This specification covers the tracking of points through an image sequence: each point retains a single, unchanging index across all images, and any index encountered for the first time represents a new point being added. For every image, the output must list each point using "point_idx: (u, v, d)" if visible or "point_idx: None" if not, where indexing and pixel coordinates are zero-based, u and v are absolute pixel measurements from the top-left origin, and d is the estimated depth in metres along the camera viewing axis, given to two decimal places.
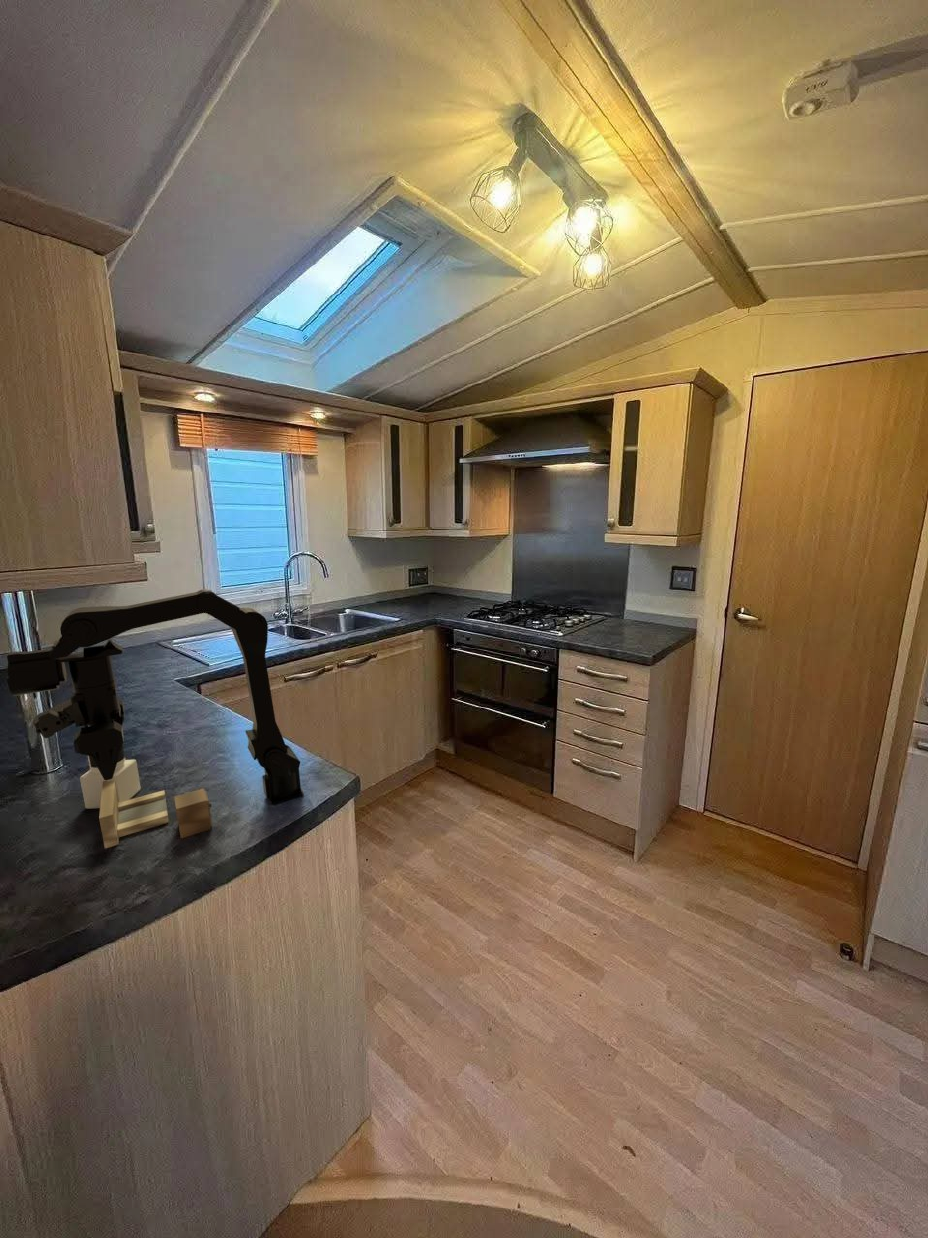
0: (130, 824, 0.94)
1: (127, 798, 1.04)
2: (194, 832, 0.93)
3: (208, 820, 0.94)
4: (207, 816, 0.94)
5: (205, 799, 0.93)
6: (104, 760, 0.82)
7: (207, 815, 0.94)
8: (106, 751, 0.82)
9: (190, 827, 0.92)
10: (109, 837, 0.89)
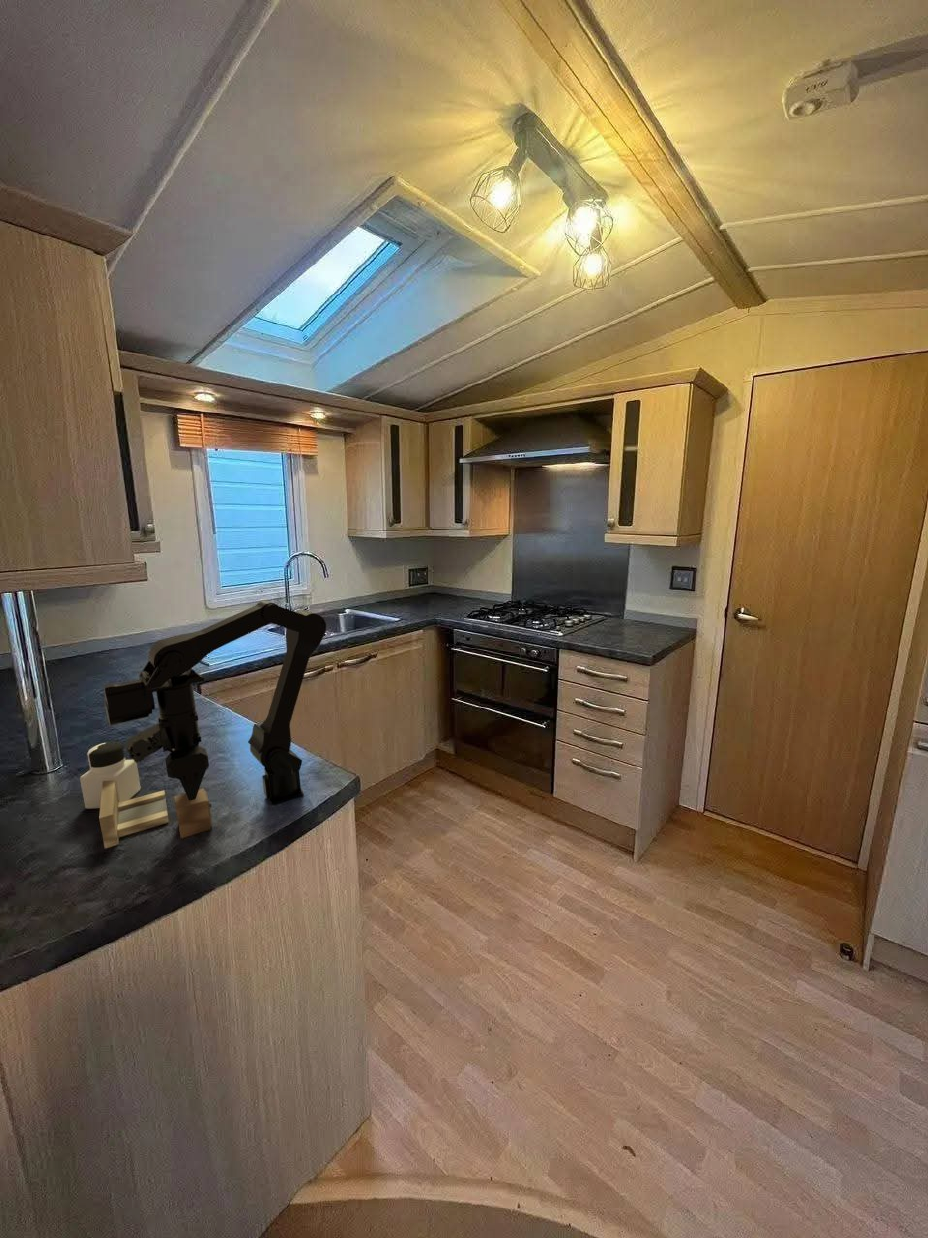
0: (130, 824, 0.94)
1: (127, 798, 1.04)
2: (194, 832, 0.93)
3: (208, 820, 0.94)
4: (207, 816, 0.94)
5: (205, 799, 0.93)
6: (190, 782, 0.88)
7: (207, 815, 0.94)
8: (191, 774, 0.88)
9: (190, 827, 0.92)
10: (109, 837, 0.89)
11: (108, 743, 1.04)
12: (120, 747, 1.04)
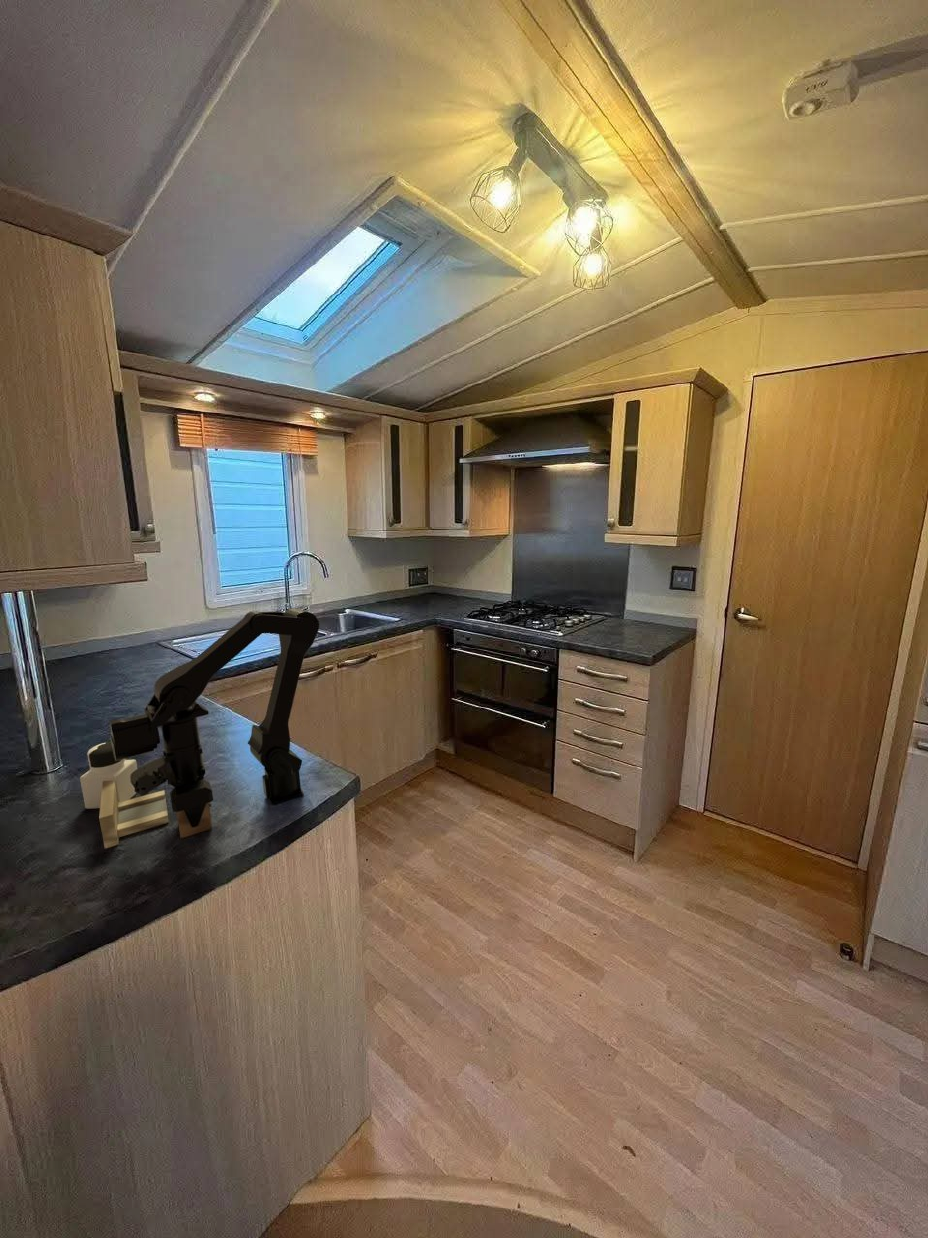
0: (130, 824, 0.94)
1: (127, 798, 1.04)
2: (194, 832, 0.93)
3: (208, 820, 0.94)
4: (207, 816, 0.94)
5: None
6: (192, 810, 0.91)
7: (207, 815, 0.94)
8: None
9: (190, 827, 0.92)
10: (109, 837, 0.89)
11: (108, 743, 1.04)
12: None
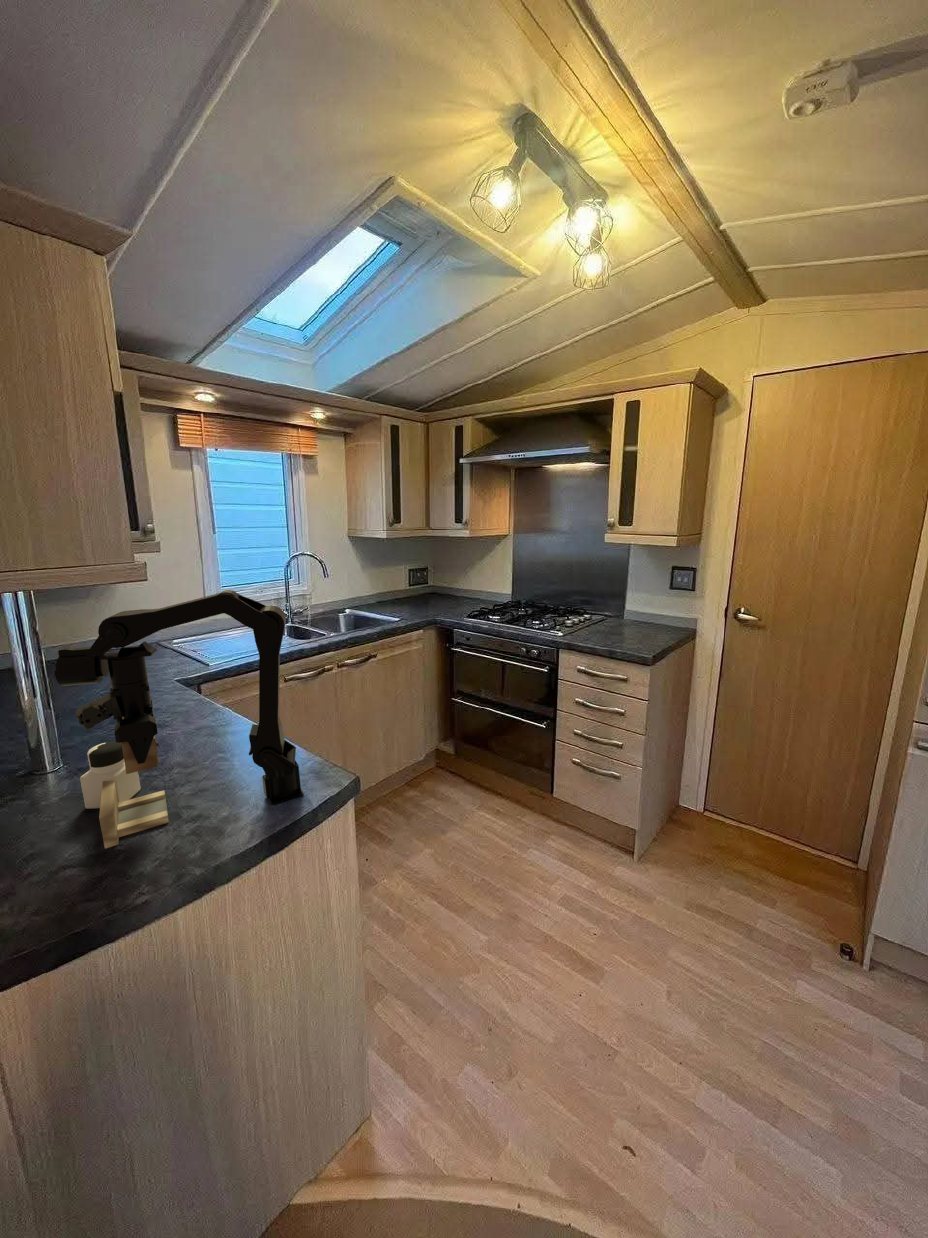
0: (130, 824, 0.94)
1: (127, 798, 1.04)
2: (140, 768, 0.95)
3: (154, 757, 0.96)
4: (153, 753, 0.95)
5: None
6: (138, 746, 0.93)
7: (153, 752, 0.95)
8: (140, 738, 0.93)
9: (136, 763, 0.94)
10: (109, 837, 0.89)
11: (108, 743, 1.04)
12: (120, 747, 1.04)
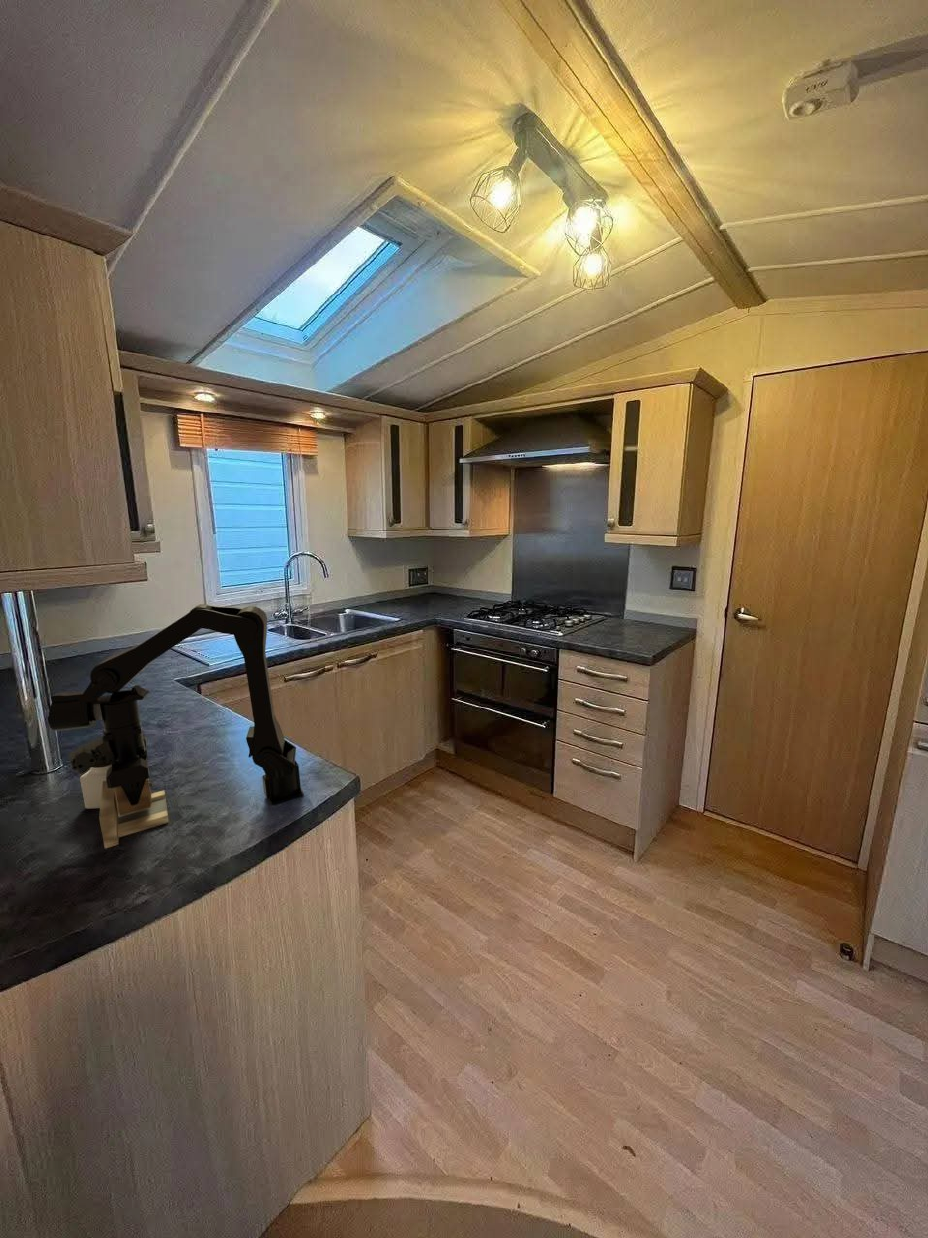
0: (130, 824, 0.94)
1: None
2: (133, 810, 0.96)
3: (148, 798, 0.97)
4: (146, 794, 0.97)
5: None
6: (131, 788, 0.94)
7: (146, 793, 0.97)
8: None
9: (129, 805, 0.95)
10: (109, 837, 0.89)
11: None
12: None
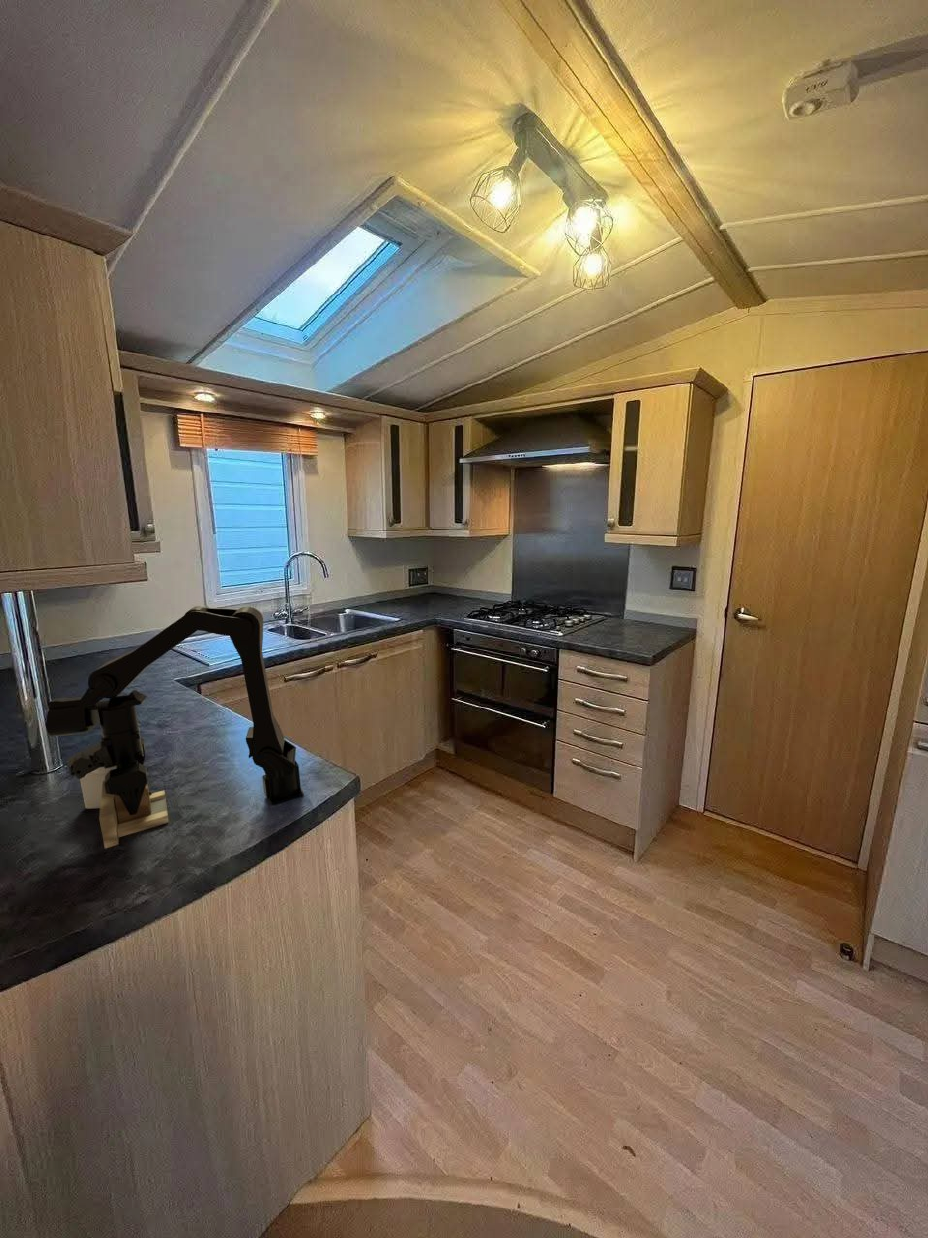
0: (130, 824, 0.94)
1: None
2: (133, 819, 0.96)
3: (147, 807, 0.97)
4: (146, 803, 0.97)
5: None
6: (130, 798, 0.92)
7: (146, 802, 0.97)
8: (132, 790, 0.92)
9: (129, 814, 0.95)
10: (109, 837, 0.89)
11: None
12: None
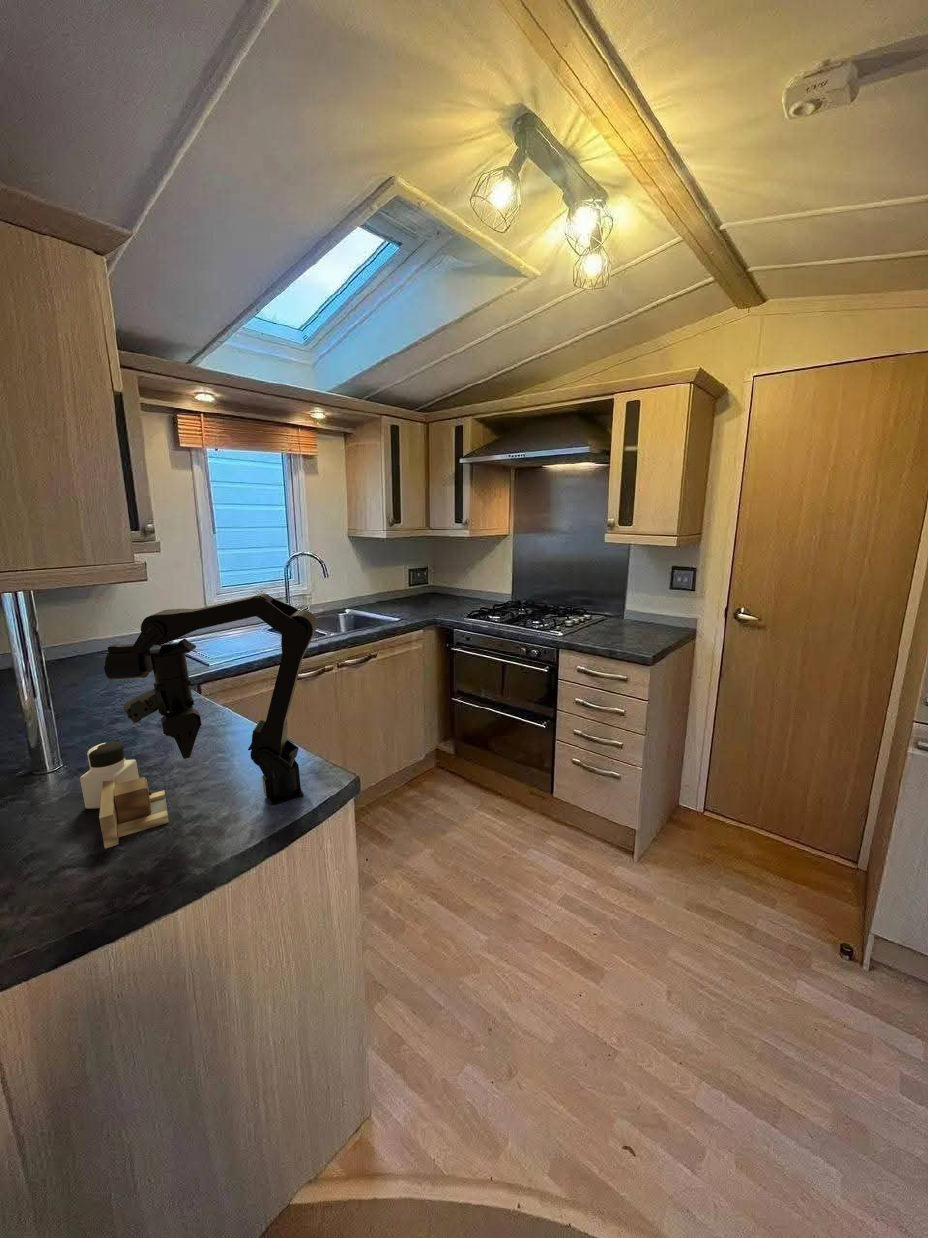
0: (130, 824, 0.94)
1: None
2: (133, 819, 0.96)
3: (147, 807, 0.97)
4: (146, 803, 0.97)
5: (144, 787, 0.96)
6: (184, 741, 0.96)
7: (146, 802, 0.97)
8: (185, 733, 0.95)
9: (129, 814, 0.95)
10: (109, 837, 0.89)
11: (108, 743, 1.04)
12: (120, 747, 1.04)
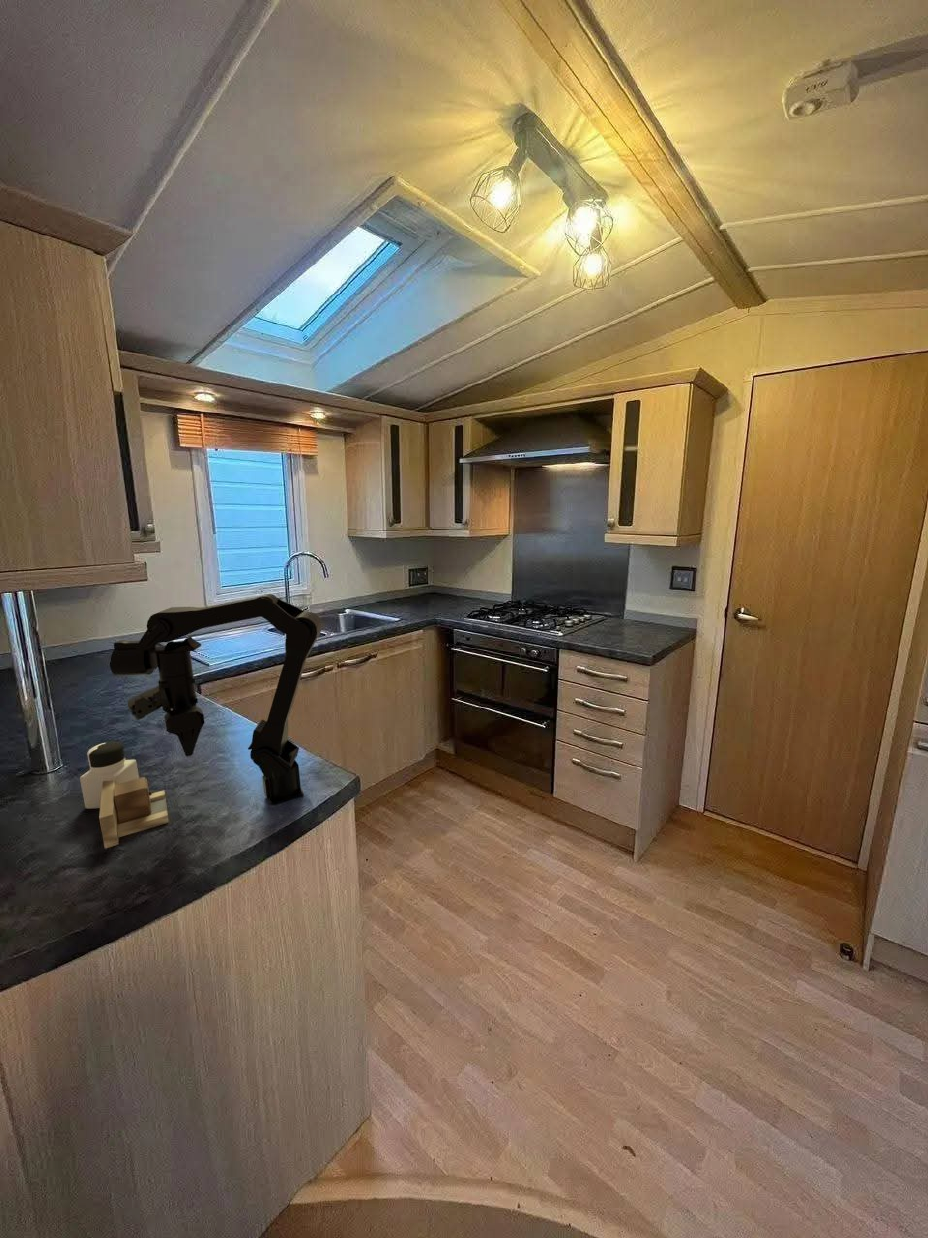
0: (130, 824, 0.94)
1: None
2: (133, 819, 0.96)
3: (147, 807, 0.97)
4: (146, 803, 0.97)
5: (144, 787, 0.96)
6: (187, 739, 0.96)
7: (146, 802, 0.97)
8: (188, 731, 0.96)
9: (129, 814, 0.95)
10: (109, 837, 0.89)
11: (108, 743, 1.04)
12: (120, 747, 1.04)
